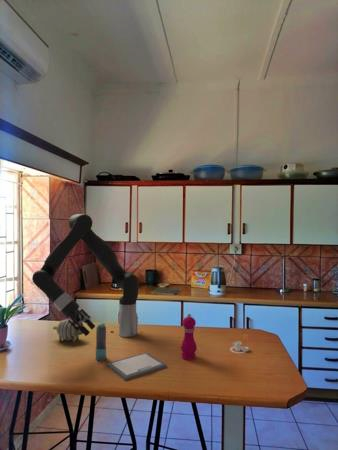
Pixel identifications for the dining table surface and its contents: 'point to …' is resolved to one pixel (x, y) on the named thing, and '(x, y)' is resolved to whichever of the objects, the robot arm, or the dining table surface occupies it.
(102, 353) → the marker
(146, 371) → the grey flat block
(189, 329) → the pepper mill
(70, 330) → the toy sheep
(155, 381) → the dining table surface
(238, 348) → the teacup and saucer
